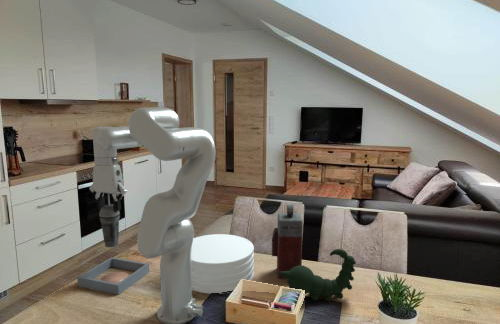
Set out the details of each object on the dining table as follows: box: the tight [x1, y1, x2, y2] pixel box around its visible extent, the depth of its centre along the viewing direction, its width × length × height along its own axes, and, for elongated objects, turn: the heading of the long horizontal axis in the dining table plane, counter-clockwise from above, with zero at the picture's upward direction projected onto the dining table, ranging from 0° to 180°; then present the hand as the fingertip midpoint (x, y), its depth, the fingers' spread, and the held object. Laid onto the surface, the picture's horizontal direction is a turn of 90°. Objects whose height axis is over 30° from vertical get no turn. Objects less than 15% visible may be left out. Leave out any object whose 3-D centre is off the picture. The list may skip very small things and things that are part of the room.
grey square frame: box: [77, 256, 150, 295], centre depth 136 cm, size 18×18×4 cm
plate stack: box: [191, 233, 255, 295], centre depth 139 cm, size 28×28×12 cm
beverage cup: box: [98, 193, 121, 248], centre depth 132 cm, size 7×7×20 cm
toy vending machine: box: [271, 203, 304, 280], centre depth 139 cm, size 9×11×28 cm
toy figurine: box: [279, 248, 357, 303], centre depth 123 cm, size 9×19×25 cm
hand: (109, 209), depth 131 cm, fingers closed on beverage cup, 6 cm apart
